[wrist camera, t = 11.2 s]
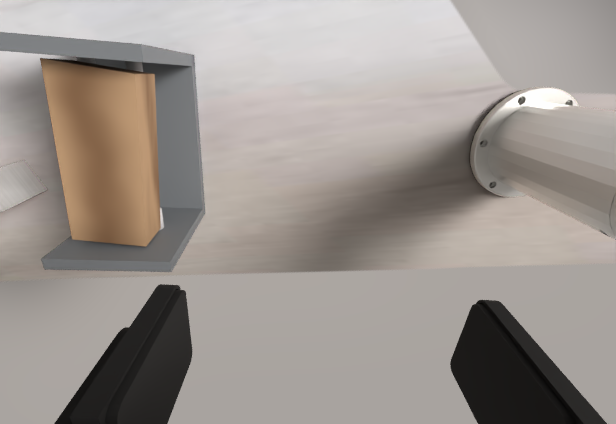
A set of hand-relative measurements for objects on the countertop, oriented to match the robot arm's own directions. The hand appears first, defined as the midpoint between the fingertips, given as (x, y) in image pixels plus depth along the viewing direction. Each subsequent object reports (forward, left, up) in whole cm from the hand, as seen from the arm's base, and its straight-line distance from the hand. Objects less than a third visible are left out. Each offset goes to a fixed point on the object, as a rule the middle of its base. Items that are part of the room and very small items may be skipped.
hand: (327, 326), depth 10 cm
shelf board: (+16, 0, -20) cm, 25 cm away
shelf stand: (+16, 0, -27) cm, 31 cm away
